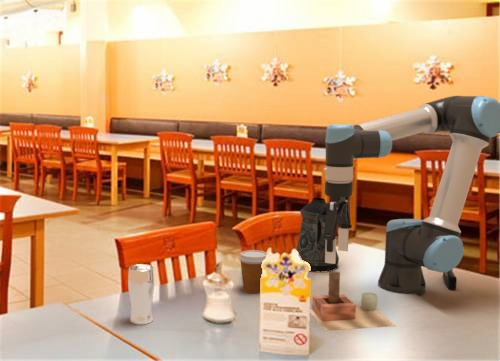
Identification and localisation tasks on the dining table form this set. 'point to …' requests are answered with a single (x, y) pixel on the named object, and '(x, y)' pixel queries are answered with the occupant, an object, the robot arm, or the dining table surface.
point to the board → (359, 322)
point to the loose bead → (369, 301)
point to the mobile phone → (450, 279)
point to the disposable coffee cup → (251, 269)
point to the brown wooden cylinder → (334, 287)
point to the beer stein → (314, 236)
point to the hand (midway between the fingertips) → (336, 256)
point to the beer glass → (141, 293)
